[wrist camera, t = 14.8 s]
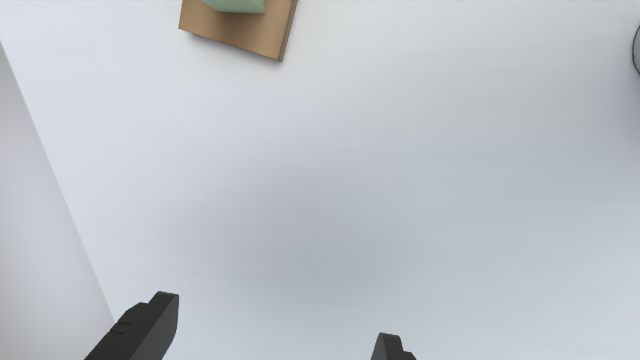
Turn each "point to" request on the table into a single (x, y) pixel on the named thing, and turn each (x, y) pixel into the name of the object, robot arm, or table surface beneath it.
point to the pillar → (237, 6)
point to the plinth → (242, 26)
